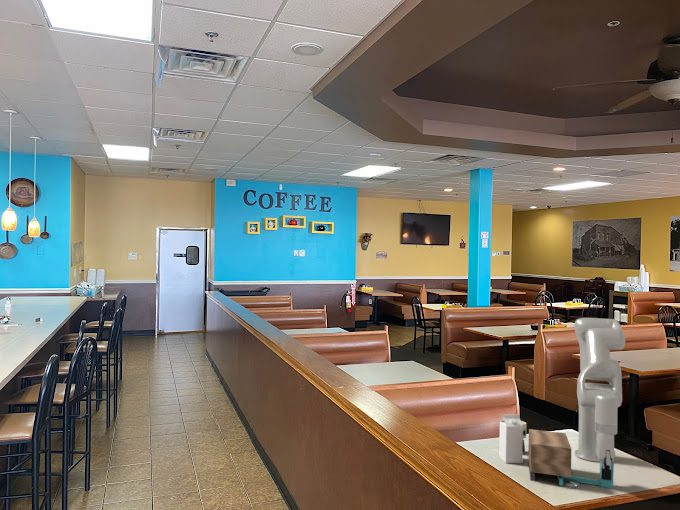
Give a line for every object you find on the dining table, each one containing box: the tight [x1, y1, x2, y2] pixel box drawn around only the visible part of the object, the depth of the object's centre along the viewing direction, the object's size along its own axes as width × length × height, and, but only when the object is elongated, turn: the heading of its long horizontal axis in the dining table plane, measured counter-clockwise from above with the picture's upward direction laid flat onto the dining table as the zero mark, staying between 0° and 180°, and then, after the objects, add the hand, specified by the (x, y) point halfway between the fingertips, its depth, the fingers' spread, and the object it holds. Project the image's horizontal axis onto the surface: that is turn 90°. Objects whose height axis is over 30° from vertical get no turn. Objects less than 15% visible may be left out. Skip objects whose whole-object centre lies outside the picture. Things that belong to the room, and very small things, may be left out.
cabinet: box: [528, 428, 572, 482], centre depth 202 cm, size 14×20×14 cm
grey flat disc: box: [562, 479, 581, 489], centre depth 193 cm, size 6×6×1 cm
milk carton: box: [498, 413, 524, 464], centre depth 217 cm, size 7×7×19 cm
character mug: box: [521, 420, 527, 454], centre depth 228 cm, size 11×7×13 cm, turn 157°
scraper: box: [557, 459, 615, 489], centre depth 195 cm, size 19×14×10 cm
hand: (605, 477), depth 193 cm, fingers closed on scraper, 2 cm apart
